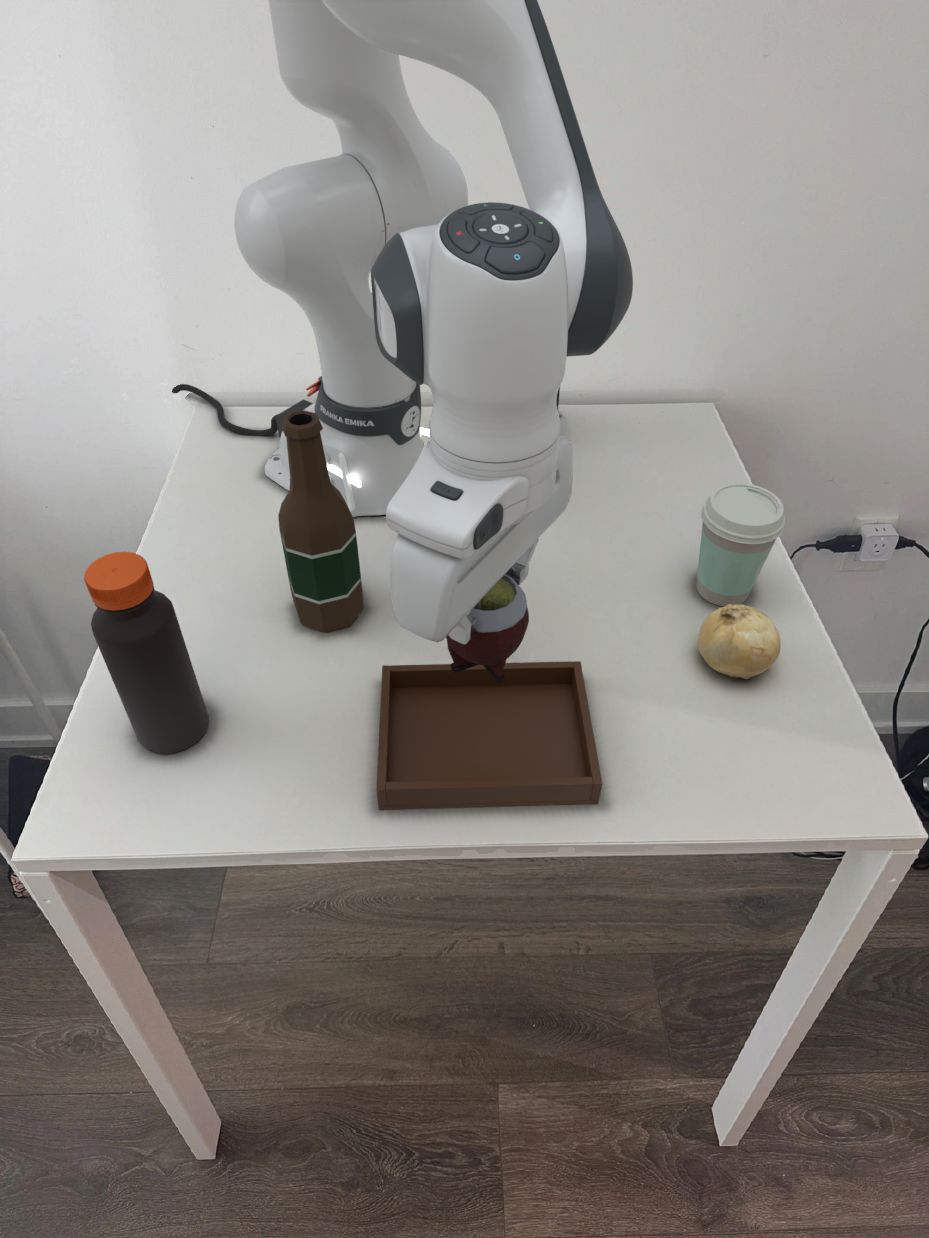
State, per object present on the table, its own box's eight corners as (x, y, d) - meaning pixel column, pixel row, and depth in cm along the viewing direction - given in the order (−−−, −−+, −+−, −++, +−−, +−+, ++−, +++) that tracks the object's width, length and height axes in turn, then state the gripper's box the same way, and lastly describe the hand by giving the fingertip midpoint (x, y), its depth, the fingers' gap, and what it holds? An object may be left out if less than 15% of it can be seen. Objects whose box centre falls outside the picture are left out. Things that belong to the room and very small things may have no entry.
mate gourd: (500, 620, 78) (507, 483, 67) (545, 678, 73) (560, 540, 62) (425, 646, 75) (420, 508, 65) (466, 709, 70) (468, 570, 60)
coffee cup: (762, 620, 94) (792, 534, 85) (683, 609, 95) (704, 523, 87) (759, 570, 100) (786, 484, 91) (684, 560, 101) (704, 475, 93)
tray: (378, 809, 76) (376, 789, 74) (384, 686, 87) (382, 665, 85) (598, 804, 77) (602, 783, 75) (577, 681, 87) (580, 660, 85)
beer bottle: (300, 585, 98) (266, 395, 81) (368, 586, 97) (349, 397, 81) (287, 633, 92) (249, 440, 75) (360, 635, 92) (337, 442, 75)
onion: (753, 630, 93) (770, 580, 88) (785, 684, 87) (805, 635, 82) (682, 638, 92) (695, 589, 87) (710, 694, 86) (725, 645, 81)
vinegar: (212, 746, 81) (160, 589, 67) (138, 762, 80) (69, 606, 66) (206, 694, 86) (157, 537, 72) (136, 708, 85) (72, 552, 71)
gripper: (528, 387, 67) (520, 527, 77) (368, 522, 55) (382, 668, 65) (601, 410, 65) (583, 552, 75) (450, 556, 53) (452, 703, 62)
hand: (489, 607), depth 70 cm, fingers closed on mate gourd, 6 cm apart
